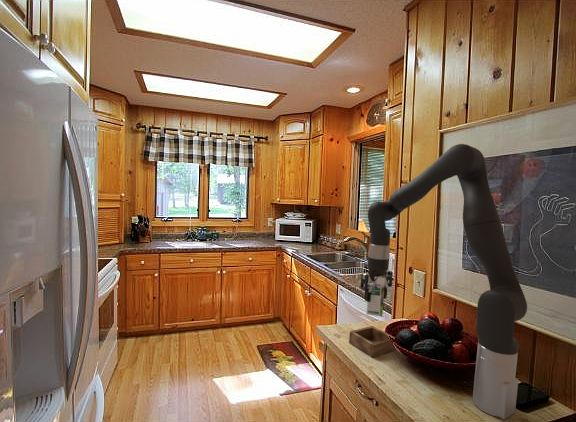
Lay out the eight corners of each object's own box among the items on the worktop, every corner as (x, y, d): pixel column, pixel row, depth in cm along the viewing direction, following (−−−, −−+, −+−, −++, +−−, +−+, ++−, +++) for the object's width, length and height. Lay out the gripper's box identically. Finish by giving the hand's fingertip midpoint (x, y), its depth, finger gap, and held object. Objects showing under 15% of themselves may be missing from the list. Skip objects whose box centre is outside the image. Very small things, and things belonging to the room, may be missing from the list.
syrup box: (366, 314, 119) (368, 275, 118) (367, 309, 125) (369, 271, 124) (382, 317, 118) (385, 277, 116) (382, 311, 123) (385, 273, 122)
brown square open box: (395, 350, 120) (396, 338, 120) (372, 357, 114) (373, 345, 114) (371, 336, 130) (372, 325, 130) (349, 343, 124) (349, 331, 124)
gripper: (372, 260, 113) (369, 306, 114) (400, 257, 120) (396, 300, 121) (356, 255, 119) (354, 299, 120) (384, 252, 126) (381, 294, 128)
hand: (375, 299), depth 121 cm, fingers closed on syrup box, 8 cm apart
